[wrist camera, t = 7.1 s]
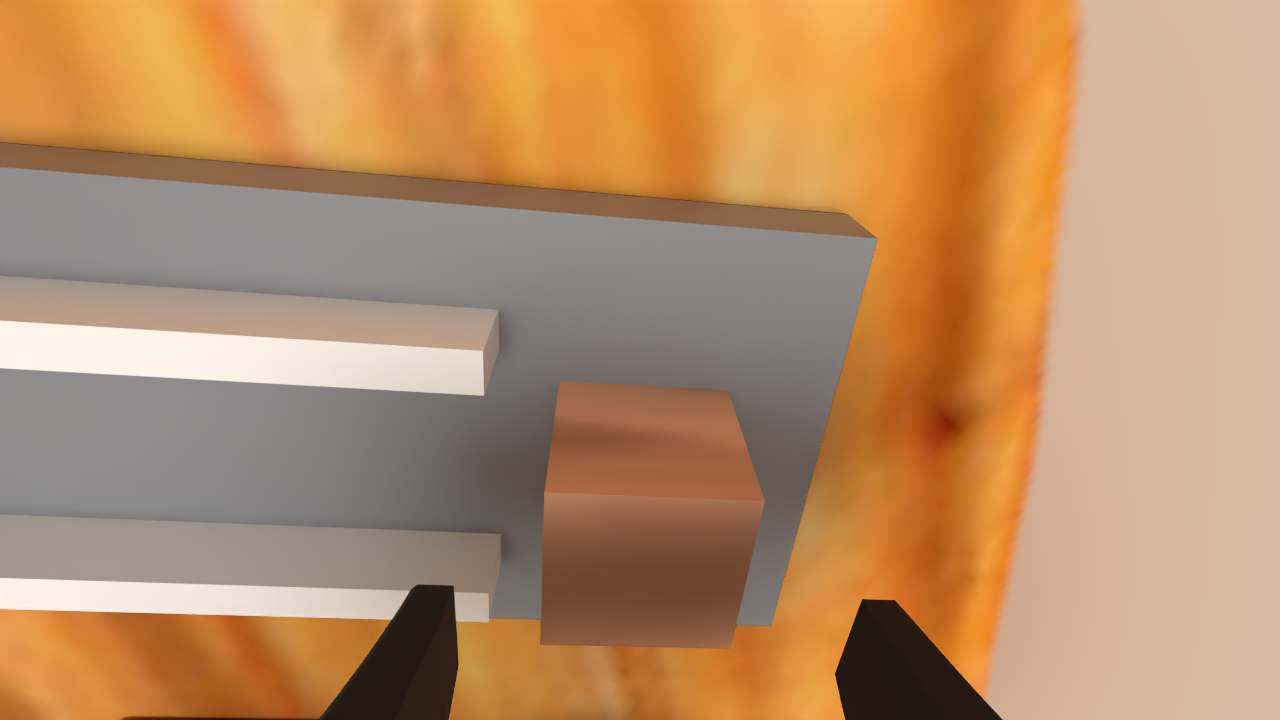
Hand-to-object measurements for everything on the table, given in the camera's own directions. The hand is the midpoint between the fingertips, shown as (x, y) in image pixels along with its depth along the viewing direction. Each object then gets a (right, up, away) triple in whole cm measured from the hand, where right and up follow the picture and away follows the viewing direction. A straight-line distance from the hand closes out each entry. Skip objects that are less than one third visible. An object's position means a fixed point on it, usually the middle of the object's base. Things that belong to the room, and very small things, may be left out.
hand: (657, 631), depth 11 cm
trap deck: (-10, +4, +6) cm, 12 cm away
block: (0, +2, +5) cm, 5 cm away
